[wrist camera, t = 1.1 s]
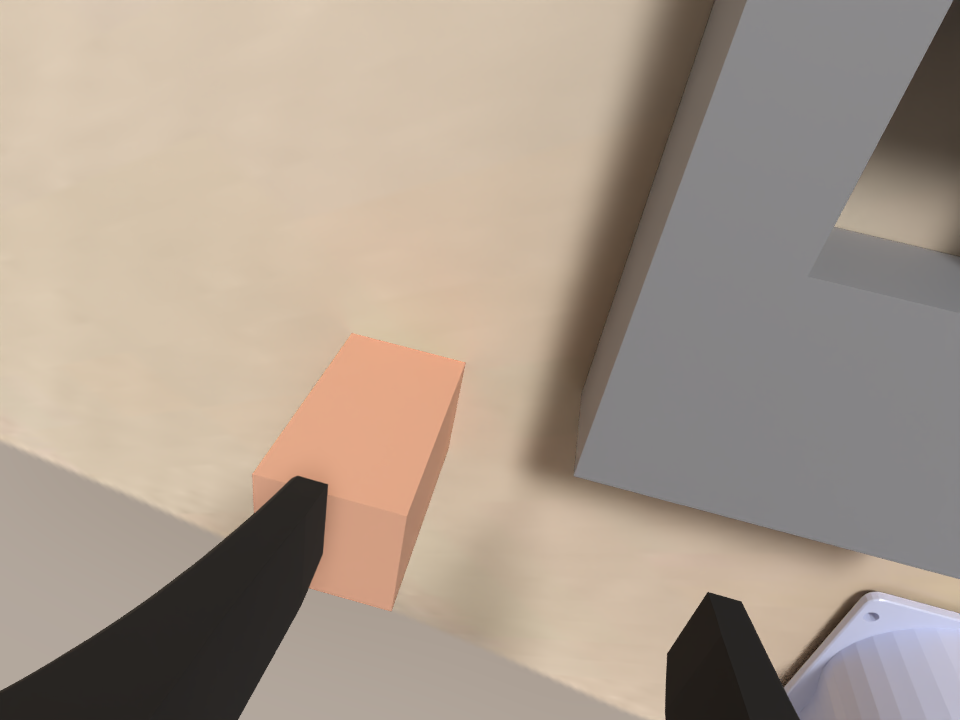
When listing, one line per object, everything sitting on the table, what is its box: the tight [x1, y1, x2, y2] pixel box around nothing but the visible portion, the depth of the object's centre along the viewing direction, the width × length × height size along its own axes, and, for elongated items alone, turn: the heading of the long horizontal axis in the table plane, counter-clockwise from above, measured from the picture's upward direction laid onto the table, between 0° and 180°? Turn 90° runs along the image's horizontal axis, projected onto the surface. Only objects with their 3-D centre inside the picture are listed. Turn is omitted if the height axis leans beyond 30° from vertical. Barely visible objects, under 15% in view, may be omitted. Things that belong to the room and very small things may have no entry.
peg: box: [252, 333, 465, 611], centre depth 20 cm, size 4×4×7 cm
